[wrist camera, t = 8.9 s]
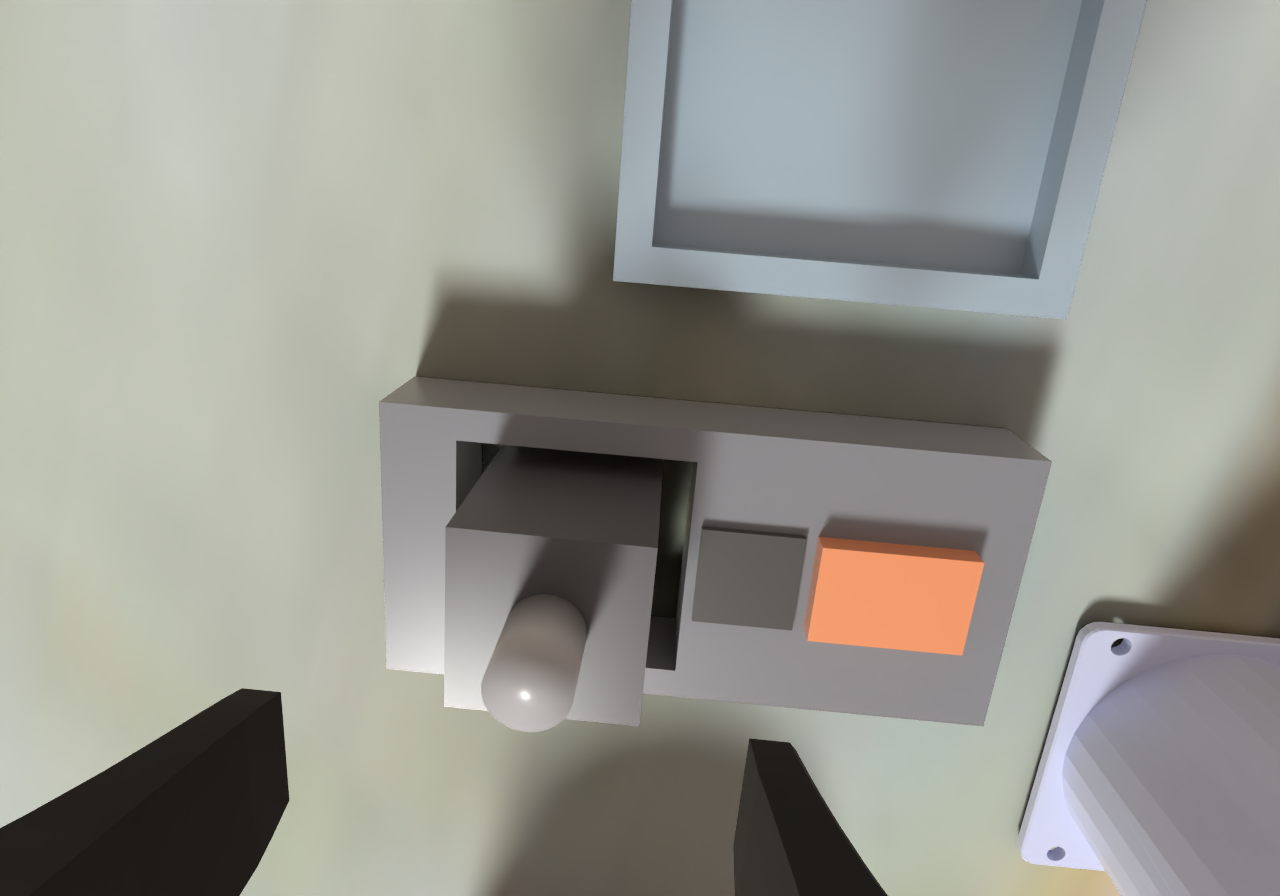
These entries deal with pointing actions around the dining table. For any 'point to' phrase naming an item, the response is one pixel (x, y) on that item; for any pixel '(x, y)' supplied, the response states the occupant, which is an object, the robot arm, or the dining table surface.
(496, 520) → the plug
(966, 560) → the power strip
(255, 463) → the dining table surface
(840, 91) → the tray
